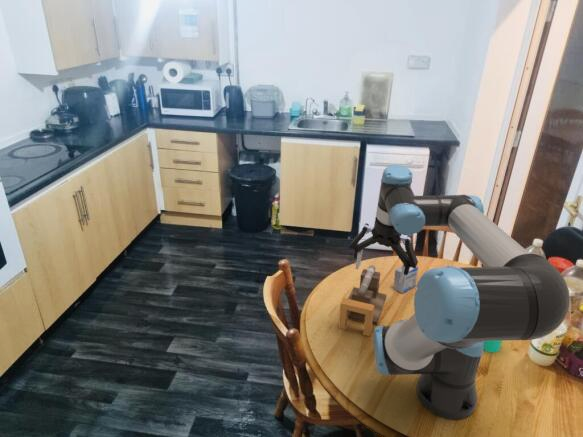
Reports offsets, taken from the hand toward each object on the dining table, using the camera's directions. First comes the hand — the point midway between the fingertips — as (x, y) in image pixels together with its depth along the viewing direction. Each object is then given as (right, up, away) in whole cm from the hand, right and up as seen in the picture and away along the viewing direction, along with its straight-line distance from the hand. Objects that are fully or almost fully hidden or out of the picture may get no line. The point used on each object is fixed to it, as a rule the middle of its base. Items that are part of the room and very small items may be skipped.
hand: (379, 273), depth 131 cm
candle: (+34, -22, 0) cm, 41 cm away
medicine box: (+15, -9, +27) cm, 33 cm away
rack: (-2, -14, +17) cm, 22 cm away
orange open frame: (-6, -19, +7) cm, 21 cm away
